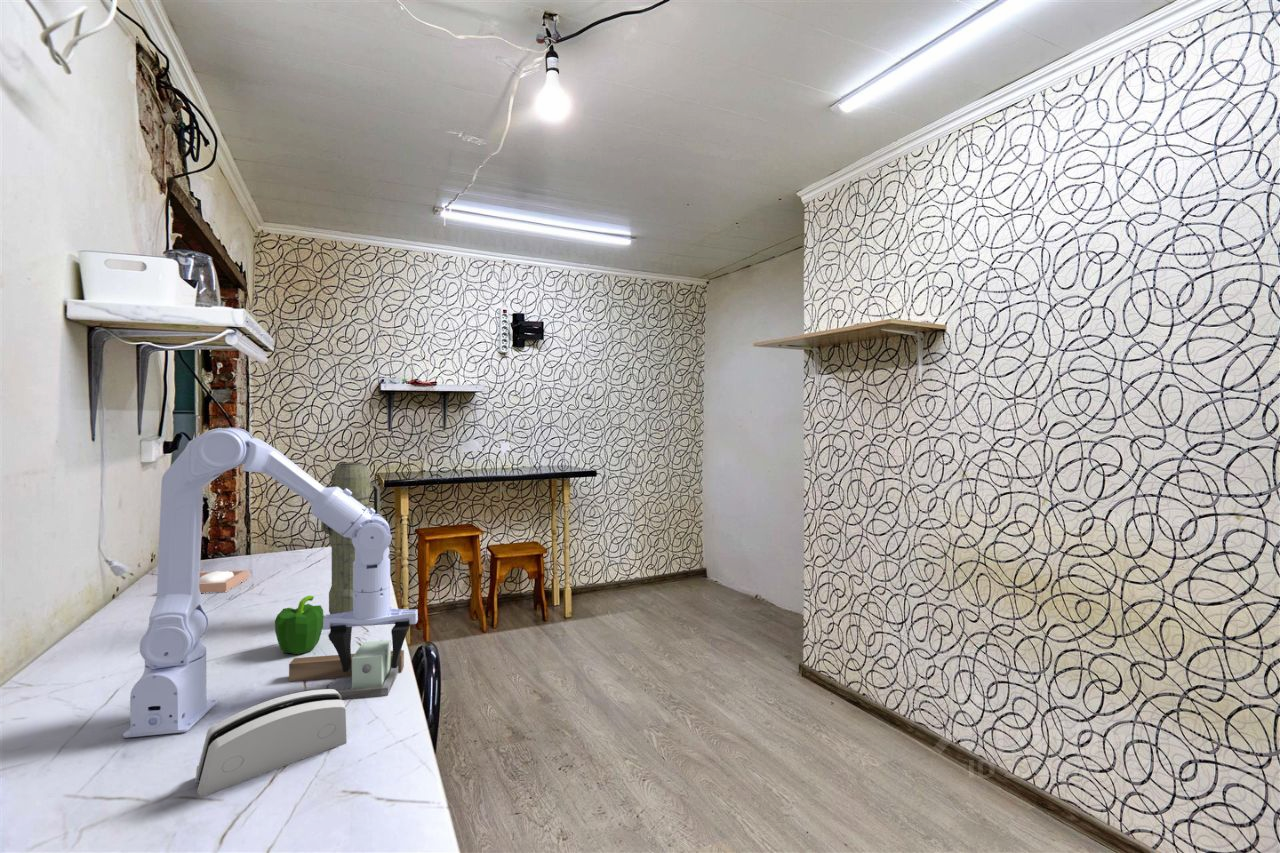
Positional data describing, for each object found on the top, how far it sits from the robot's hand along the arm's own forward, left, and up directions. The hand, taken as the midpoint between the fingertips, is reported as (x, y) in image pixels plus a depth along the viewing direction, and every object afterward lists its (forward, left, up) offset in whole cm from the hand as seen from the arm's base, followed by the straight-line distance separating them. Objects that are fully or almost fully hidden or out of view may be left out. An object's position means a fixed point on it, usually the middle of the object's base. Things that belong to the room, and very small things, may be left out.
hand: (371, 667), depth 98 cm
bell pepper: (+18, +17, -3) cm, 25 cm away
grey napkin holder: (-22, +6, -3) cm, 23 cm away
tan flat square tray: (+69, +56, -3) cm, 89 cm away
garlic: (+70, +54, -3) cm, 89 cm away
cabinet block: (0, 0, -3) cm, 3 cm away
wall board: (0, +5, -3) cm, 6 cm away
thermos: (+34, +12, -3) cm, 36 cm away
